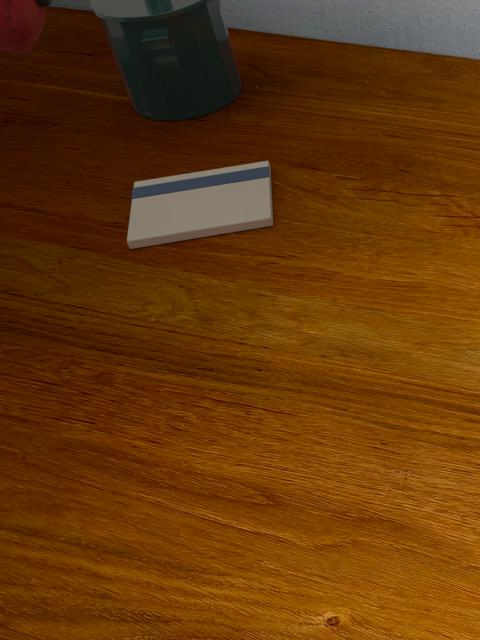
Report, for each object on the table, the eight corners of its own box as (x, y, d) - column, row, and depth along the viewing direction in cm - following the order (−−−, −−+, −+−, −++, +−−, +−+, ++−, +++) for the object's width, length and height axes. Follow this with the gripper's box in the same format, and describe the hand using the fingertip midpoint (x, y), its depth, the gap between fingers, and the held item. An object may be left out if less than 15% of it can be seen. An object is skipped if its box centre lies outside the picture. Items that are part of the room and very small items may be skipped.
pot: (127, 141, 101) (89, 40, 94) (138, 68, 112) (104, -27, 104) (242, 123, 101) (213, 21, 94) (242, 53, 112) (215, -43, 105)
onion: (39, 72, 81) (-8, -40, 75) (-29, 71, 82) (-80, -40, 76) (73, 39, 85) (31, -70, 79) (8, 39, 85) (-38, -69, 80)
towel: (129, 249, 88) (125, 240, 87) (137, 189, 94) (133, 180, 94) (273, 226, 89) (270, 216, 88) (270, 168, 95) (268, 159, 95)
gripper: (11, -287, 71) (103, -22, 84) (-209, -262, 70) (-83, 3, 82) (-7, -264, 66) (94, 14, 79) (-244, -236, 65) (-104, 42, 77)
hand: (3, 7), depth 80 cm, fingers closed on onion, 5 cm apart
